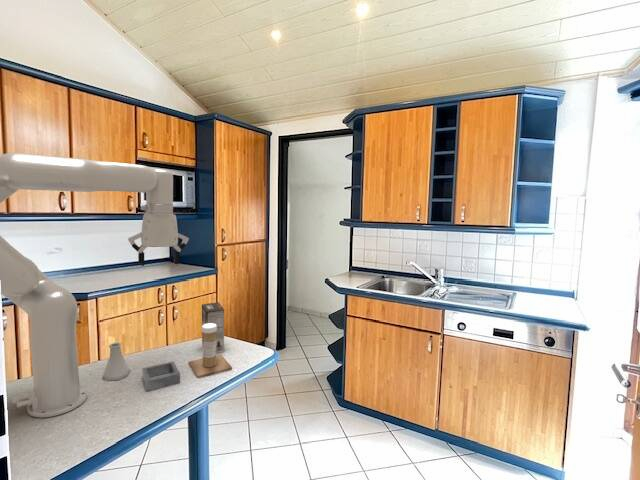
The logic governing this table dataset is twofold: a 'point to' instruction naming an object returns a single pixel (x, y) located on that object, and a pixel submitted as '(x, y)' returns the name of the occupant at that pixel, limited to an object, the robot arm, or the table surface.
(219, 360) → the walnut board
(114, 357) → the flask
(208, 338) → the sprinkles bottle
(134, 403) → the table surface
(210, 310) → the coffee box
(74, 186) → the robot arm
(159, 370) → the steel collar holder
